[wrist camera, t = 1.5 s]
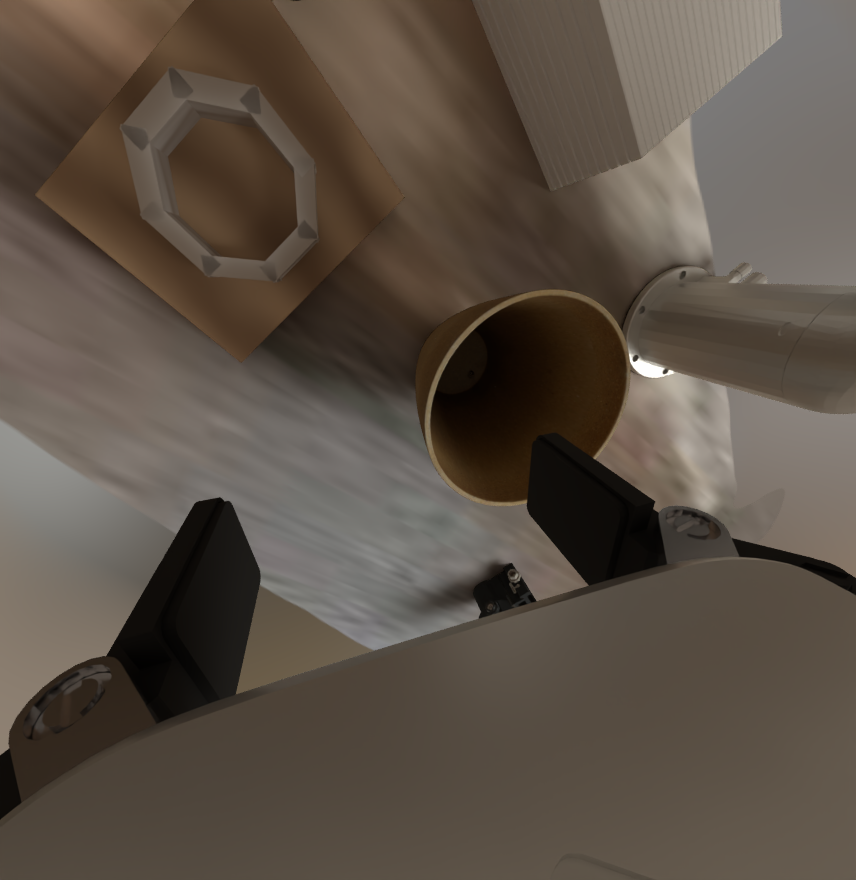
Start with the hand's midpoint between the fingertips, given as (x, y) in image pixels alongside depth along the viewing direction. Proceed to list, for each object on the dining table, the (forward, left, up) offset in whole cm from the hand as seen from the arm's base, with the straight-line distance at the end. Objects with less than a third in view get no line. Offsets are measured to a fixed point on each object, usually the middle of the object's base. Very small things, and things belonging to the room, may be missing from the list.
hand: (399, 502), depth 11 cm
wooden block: (-2, -13, -26) cm, 29 cm away
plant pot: (-7, +8, -26) cm, 28 cm away
